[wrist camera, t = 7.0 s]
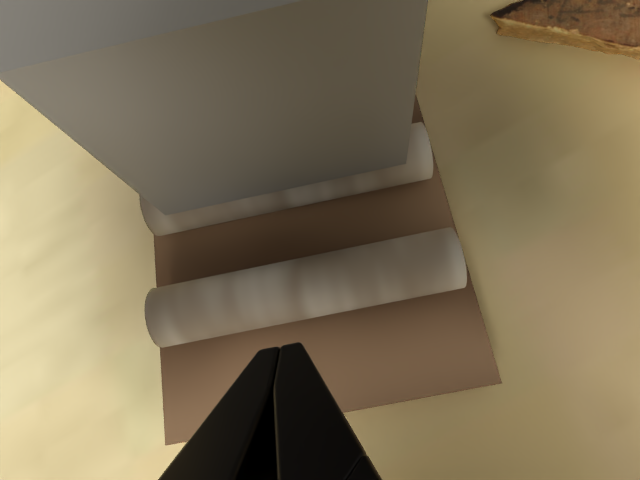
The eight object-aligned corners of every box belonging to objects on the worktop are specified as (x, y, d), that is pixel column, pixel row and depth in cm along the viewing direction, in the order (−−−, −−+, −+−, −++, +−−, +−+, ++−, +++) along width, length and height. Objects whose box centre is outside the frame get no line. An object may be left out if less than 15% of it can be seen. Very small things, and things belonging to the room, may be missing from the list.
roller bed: (492, 383, 15) (614, 378, 7) (180, 441, 16) (-8, 492, 8) (364, -56, 22) (357, -296, 14) (151, -4, 23) (35, -207, 15)
